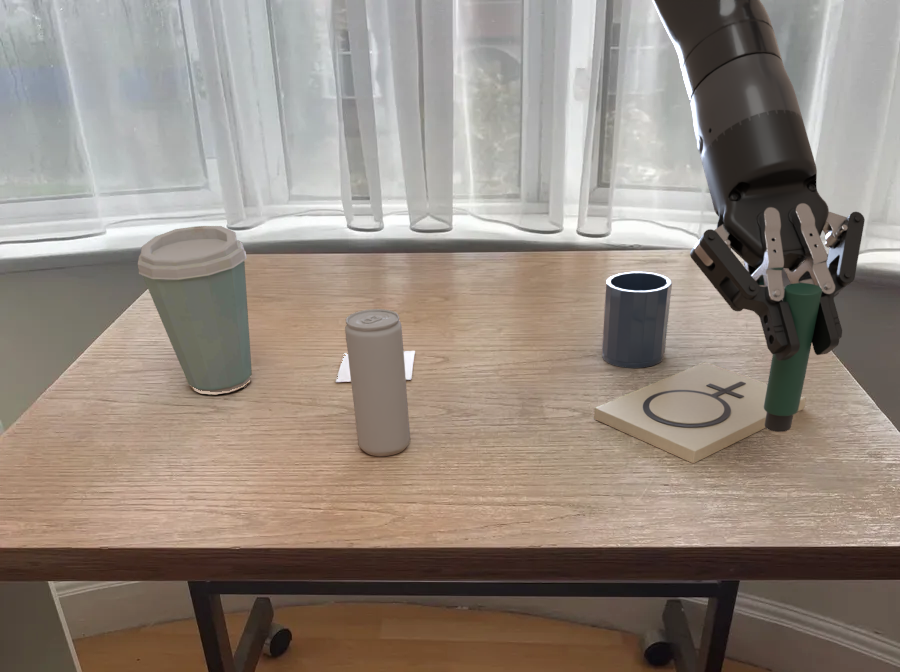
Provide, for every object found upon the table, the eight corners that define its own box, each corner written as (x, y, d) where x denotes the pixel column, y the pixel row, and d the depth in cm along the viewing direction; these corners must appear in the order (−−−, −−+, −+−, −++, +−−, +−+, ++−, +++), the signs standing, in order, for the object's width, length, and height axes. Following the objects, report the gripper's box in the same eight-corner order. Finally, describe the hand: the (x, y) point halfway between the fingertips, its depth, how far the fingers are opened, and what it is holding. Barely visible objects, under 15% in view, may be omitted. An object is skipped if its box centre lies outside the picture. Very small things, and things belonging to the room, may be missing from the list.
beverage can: (421, 445, 83) (412, 316, 75) (382, 464, 80) (368, 332, 73) (387, 429, 86) (375, 304, 78) (347, 447, 83) (332, 319, 76)
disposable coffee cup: (258, 404, 91) (229, 252, 82) (154, 407, 92) (115, 256, 83) (277, 363, 100) (254, 221, 91) (182, 366, 100) (149, 225, 91)
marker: (773, 416, 73) (798, 280, 67) (801, 426, 72) (829, 288, 65) (753, 426, 72) (777, 288, 65) (781, 437, 70) (808, 296, 64)
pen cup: (630, 340, 101) (636, 267, 96) (676, 356, 97) (685, 281, 92) (588, 355, 98) (592, 281, 93) (634, 373, 94) (640, 296, 89)
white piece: (411, 379, 94) (410, 372, 94) (335, 382, 95) (334, 374, 94) (415, 350, 101) (414, 343, 100) (344, 353, 101) (343, 346, 101)
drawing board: (703, 372, 93) (705, 359, 92) (804, 409, 85) (807, 395, 84) (593, 419, 85) (594, 405, 85) (693, 463, 78) (695, 449, 77)
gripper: (685, 115, 63) (745, 343, 61) (861, 97, 66) (926, 317, 64) (647, 180, 71) (700, 386, 69) (807, 162, 73) (863, 361, 71)
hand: (808, 352), depth 66 cm, fingers closed on marker, 2 cm apart
